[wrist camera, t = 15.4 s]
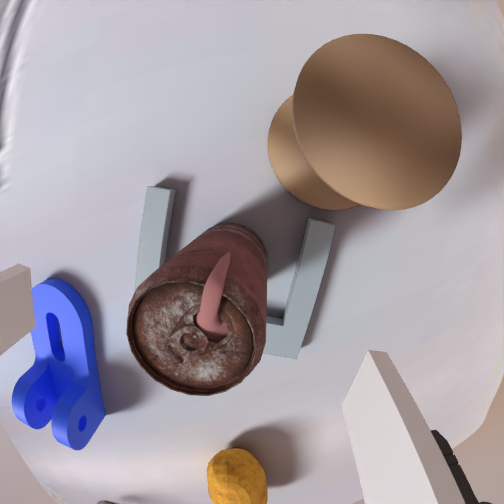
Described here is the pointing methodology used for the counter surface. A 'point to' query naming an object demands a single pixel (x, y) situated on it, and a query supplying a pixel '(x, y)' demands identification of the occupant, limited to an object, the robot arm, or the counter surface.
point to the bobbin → (366, 127)
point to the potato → (236, 478)
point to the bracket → (61, 368)
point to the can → (203, 313)
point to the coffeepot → (104, 502)
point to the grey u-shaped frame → (303, 286)
